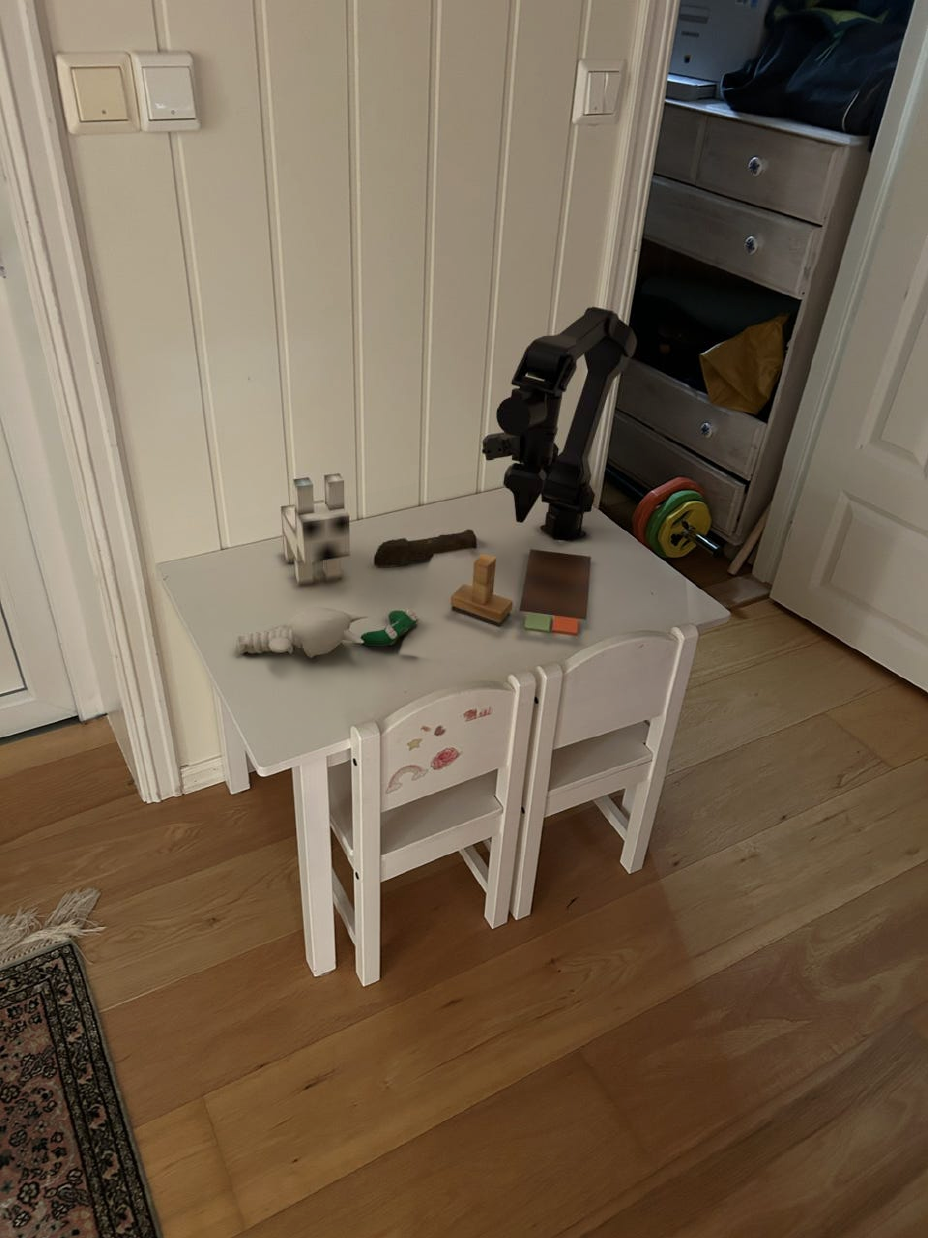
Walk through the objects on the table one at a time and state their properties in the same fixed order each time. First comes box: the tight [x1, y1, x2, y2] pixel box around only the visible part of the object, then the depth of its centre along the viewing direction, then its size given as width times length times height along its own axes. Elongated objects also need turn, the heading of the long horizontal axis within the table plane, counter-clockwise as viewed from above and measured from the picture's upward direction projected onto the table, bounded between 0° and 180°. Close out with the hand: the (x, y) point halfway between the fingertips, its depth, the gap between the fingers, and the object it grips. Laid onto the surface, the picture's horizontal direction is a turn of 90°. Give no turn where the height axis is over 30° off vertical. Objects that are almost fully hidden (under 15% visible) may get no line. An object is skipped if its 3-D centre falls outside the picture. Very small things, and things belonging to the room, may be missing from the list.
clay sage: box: [523, 612, 552, 634], centre depth 149 cm, size 4×4×2 cm
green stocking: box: [360, 608, 419, 647], centre depth 145 cm, size 9×4×6 cm
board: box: [518, 548, 592, 621], centre depth 160 cm, size 20×11×2 cm, turn 171°
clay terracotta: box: [551, 616, 580, 637], centre depth 149 cm, size 4×4×2 cm
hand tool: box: [373, 529, 478, 567], centre depth 165 cm, size 19×4×5 cm, turn 111°
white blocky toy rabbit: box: [280, 472, 351, 587], centre depth 155 cm, size 8×18×20 cm, turn 23°
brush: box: [450, 553, 514, 628], centre depth 148 cm, size 4×9×12 cm, turn 61°
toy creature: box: [236, 607, 370, 659], centre depth 140 cm, size 13×7×20 cm
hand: (524, 512), depth 156 cm, fingers open, 9 cm apart
